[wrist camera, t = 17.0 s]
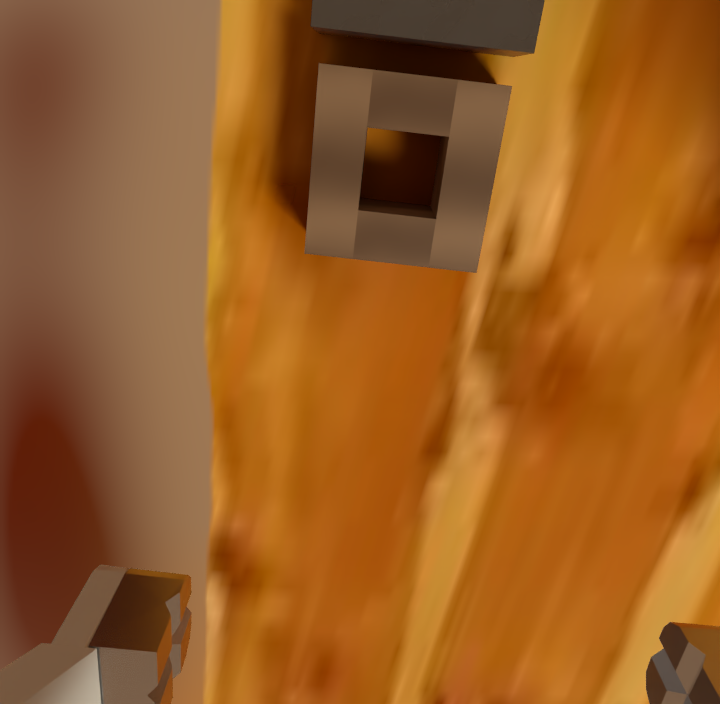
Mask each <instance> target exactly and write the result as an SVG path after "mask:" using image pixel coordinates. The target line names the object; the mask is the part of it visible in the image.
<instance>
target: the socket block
mask: <svg viewBox="0 0 720 704" xmlns="http://www.w3.org/2000/svg"><path fill="white" fill-rule="evenodd" d="M511 89H512V86H506V85H498V84H490V83H481V82H473V81H464V80H456V79H448V78H439V77H431V76H423V75H414V74H406V73H397V72H389V71H381V70H372V69H364V68H355V67H347V66H339V65H330V64H322V63H319V67H318V80H317V94H316V107H315V120H314V134H313V147H312V161H311V174H310V187H309V201H308V214H307V228H306V241H305V254H314V255H323V256H332V257H341V258H350V259H359V260H367V261H376V262H385V263H394V264H403V265H412V266H421V267H430V268H439V269H447V270H456V271H465V272H474V273H477V267H478V262H479V257H480V252H481V246H482V241H483V236H484V231H485V225H486V220H487V215H488V210H489V204H490V199H491V194H492V189H493V183H494V178H495V173H496V168H497V162H498V157H499V152H500V147H501V141H502V136H503V131H504V126H505V120H506V115H507V110H508V105H509V99H510V94H511ZM367 127H369V128H378V129H386V130H395V131H404V132H412V133H421V134H429V135H438V136H441V140H440V147H439V153H438V160H437V166H436V173H435V179H434V186H433V192H432V199H431V206H426V205H417V204H409V203H400V202H391V201H383V200H374V199H365V198H360V191H361V182H362V173H363V163H364V154H365V145H366V135H367Z"/></svg>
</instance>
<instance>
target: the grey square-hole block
mask: <svg viewBox="0 0 720 704" xmlns="http://www.w3.org/2000/svg"><path fill="white" fill-rule="evenodd" d="M543 6H544V0H312V15H311V27H312V28H313V29H314V30H316V31H317V32H318V33H319V34H328V35H336V36H344V37H353V38H361V39H369V40H378V41H386V42H394V43H402V44H411V45H419V46H427V47H436V48H444V49H452V50H461V51H469V52H477V53H486V54H494V55H502V56H510V57H515V56H521V55H527V54H533V53H534V51H535V46H536V41H537V36H538V31H539V26H540V21H541V16H542V11H543Z"/></svg>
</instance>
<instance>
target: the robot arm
mask: <svg viewBox="0 0 720 704" xmlns="http://www.w3.org/2000/svg"><path fill="white" fill-rule="evenodd" d="M190 595H191V577H190V576H189V575H183V574H176V573H168V572H160V571H151V570H143V569H135V568H130V569H129V568H122V567H114V566H106V565H100V566H99V567H97V568H96V569H95V570H94V571H93V572H92V574H91V576H90V578H89V579H88V581H87V583H86V584H85V586H84V588H83V589H82V592H81V593H80V595H79V597H78V598H77V600H76V602H75V603H74V605H73V607H72V608H71V610H70V612H69V614H68V615H67V617H66V619H65V621H64V623H63V624H62V626H61V628H60V629H59V631H58V633H57V635H56V636H55V638H54V640H53V641H52V643H51V644H45V643H41V644H40V645H38V646H37V647H35V648H34V649H32V650H31V651H29V652H28V653H26V654H24V655H23V656H21V657H20V658H18V659H17V660H15V661H14V662H12V663H11V664H10V665H8V666H6V667H5V668H3V669H2V670H0V704H171V700H172V698H173V687H172V686H173V683H172V681H173V678H175V677H176V676H177V675H178V674H179V673H180V672H181V670H182V667H183V664H184V660H185V657H186V653H187V648H188V644H189V639H190V631H191V612H190V610H189V609H188V608H187V607H186V606H187V603H188V600H189V598H190ZM659 639H660V641H661V643H662V645H663V647H664V649H662V650H661V651H659V652H658V653H657V654H655V655H654V656H652V657H651V659H650V662H649V665H648V668H647V671H646V690H647V695H648V699H649V703H650V704H720V626H709V625H698V624H686V623H675V622H670V623H668V624H667V625H666V626H665V627H664V628H663V630H662V633H661V635H660V637H659Z"/></svg>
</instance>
